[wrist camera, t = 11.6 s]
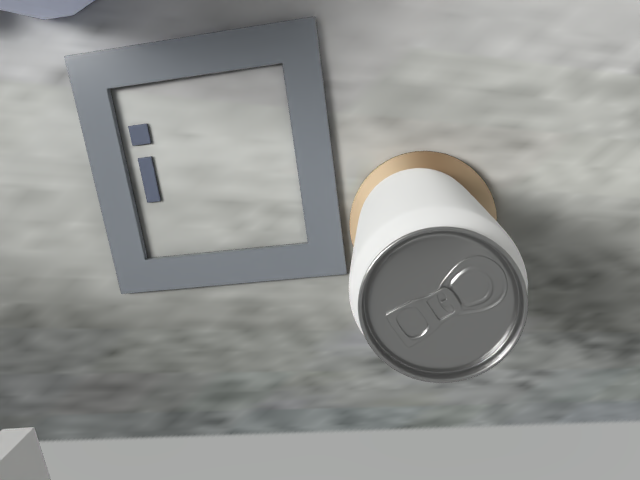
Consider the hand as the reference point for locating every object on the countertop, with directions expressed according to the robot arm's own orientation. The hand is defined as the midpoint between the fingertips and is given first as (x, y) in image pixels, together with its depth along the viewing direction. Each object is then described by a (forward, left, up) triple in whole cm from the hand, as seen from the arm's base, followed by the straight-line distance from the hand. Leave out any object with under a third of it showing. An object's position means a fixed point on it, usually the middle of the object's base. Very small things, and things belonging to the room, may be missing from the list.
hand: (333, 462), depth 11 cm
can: (+3, 0, -20) cm, 20 cm away
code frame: (-8, +5, -20) cm, 22 cm away
